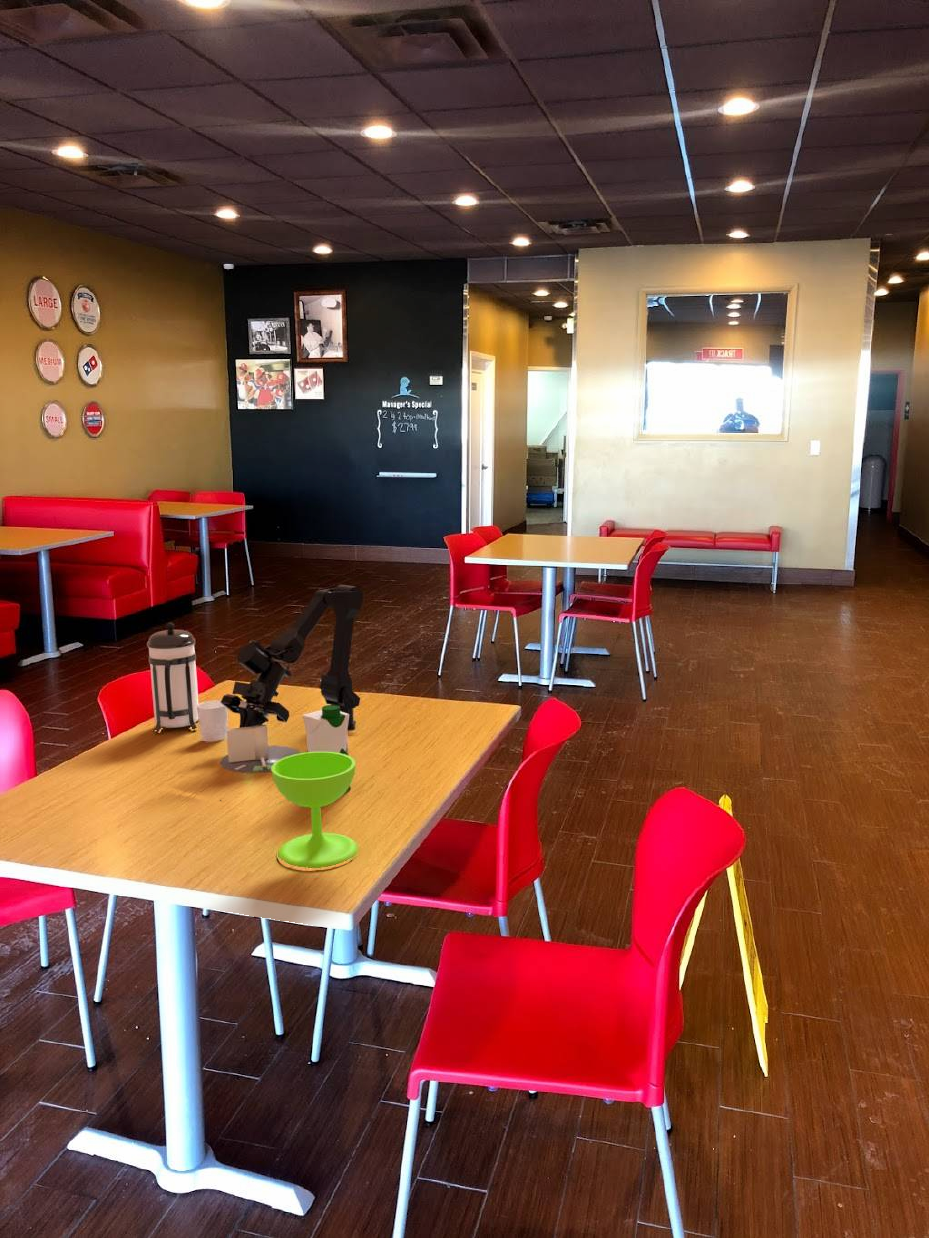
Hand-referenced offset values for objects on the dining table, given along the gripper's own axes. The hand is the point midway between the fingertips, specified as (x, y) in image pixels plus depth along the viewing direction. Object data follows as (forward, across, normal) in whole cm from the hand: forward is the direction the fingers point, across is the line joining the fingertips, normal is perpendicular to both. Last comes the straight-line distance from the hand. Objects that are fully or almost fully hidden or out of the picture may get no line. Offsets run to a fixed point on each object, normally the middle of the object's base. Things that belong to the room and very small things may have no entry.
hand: (240, 738), depth 238 cm
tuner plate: (+3, +4, +6) cm, 8 cm away
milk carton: (+8, +31, +2) cm, 32 cm away
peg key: (+5, +5, +2) cm, 8 cm away
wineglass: (+26, +51, -19) cm, 60 cm away
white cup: (-2, -19, +11) cm, 22 cm away
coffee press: (-3, -36, +13) cm, 38 cm away
